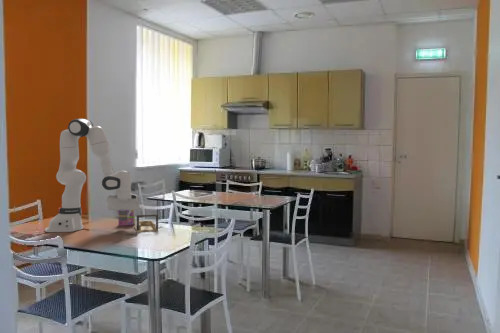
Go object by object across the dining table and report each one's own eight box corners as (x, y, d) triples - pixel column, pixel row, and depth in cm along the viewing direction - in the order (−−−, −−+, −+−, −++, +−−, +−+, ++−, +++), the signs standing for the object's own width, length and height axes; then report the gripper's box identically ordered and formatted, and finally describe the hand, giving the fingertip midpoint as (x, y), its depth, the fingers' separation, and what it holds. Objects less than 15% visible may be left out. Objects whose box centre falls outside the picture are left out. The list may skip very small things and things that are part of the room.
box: (118, 225, 294) (118, 208, 294) (119, 224, 300) (119, 207, 299) (134, 225, 296) (134, 208, 295) (135, 223, 301) (135, 206, 301)
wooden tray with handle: (136, 232, 273) (136, 215, 272) (133, 227, 288) (133, 211, 287) (158, 231, 278) (158, 214, 277) (154, 226, 293) (154, 210, 292)
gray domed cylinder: (119, 220, 279) (119, 211, 279) (118, 219, 283) (119, 210, 283) (127, 220, 281) (127, 211, 280) (126, 219, 285) (126, 210, 285)
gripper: (107, 195, 275) (106, 217, 275) (140, 196, 282) (139, 217, 283) (106, 194, 281) (105, 216, 281) (139, 195, 288) (138, 216, 289)
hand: (123, 216), depth 282 cm, fingers closed on gray domed cylinder, 5 cm apart
